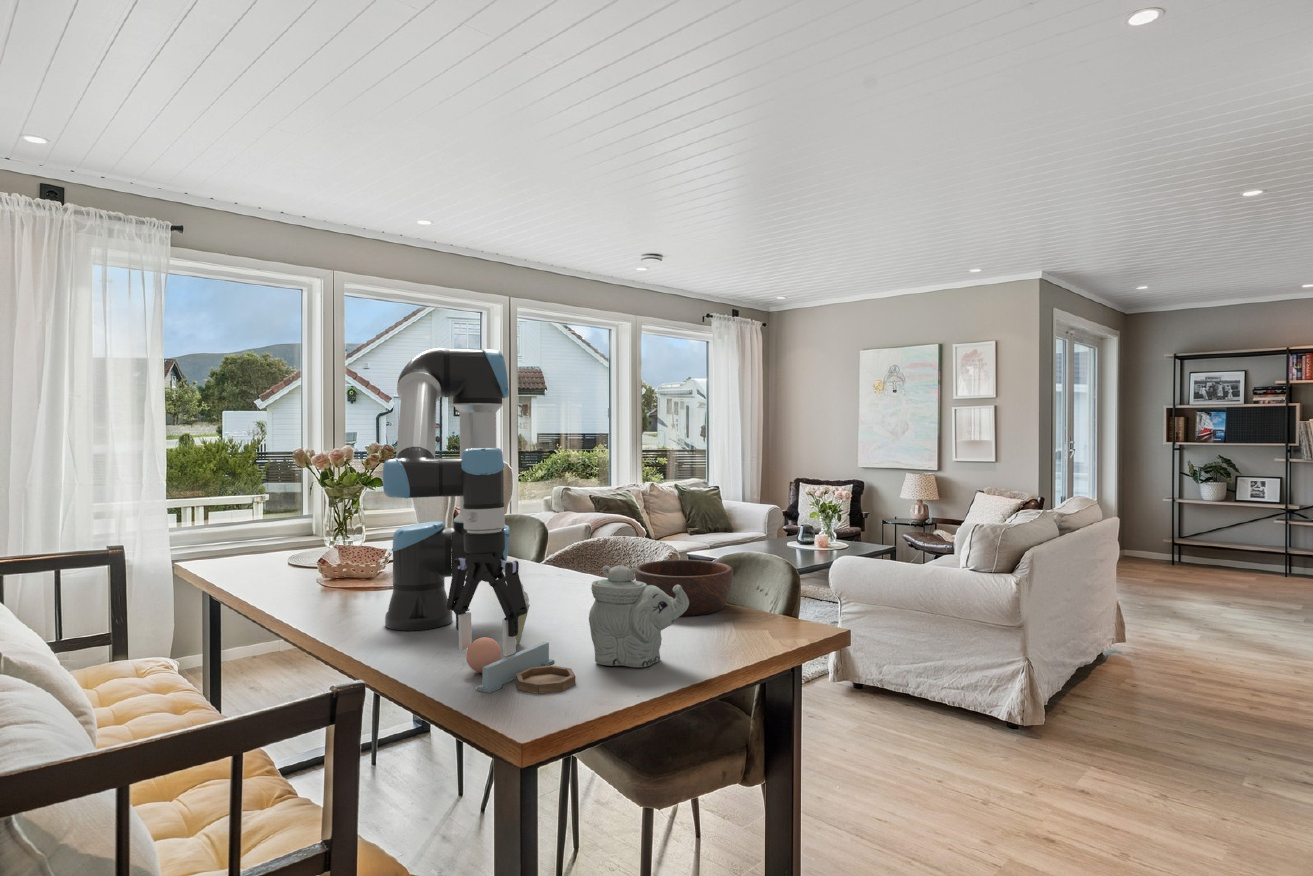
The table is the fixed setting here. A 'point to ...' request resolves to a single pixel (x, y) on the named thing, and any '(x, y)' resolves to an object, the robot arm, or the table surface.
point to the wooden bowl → (690, 582)
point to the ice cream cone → (522, 617)
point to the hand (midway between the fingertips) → (487, 651)
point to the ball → (483, 653)
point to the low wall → (513, 666)
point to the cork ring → (545, 679)
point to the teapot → (631, 618)
